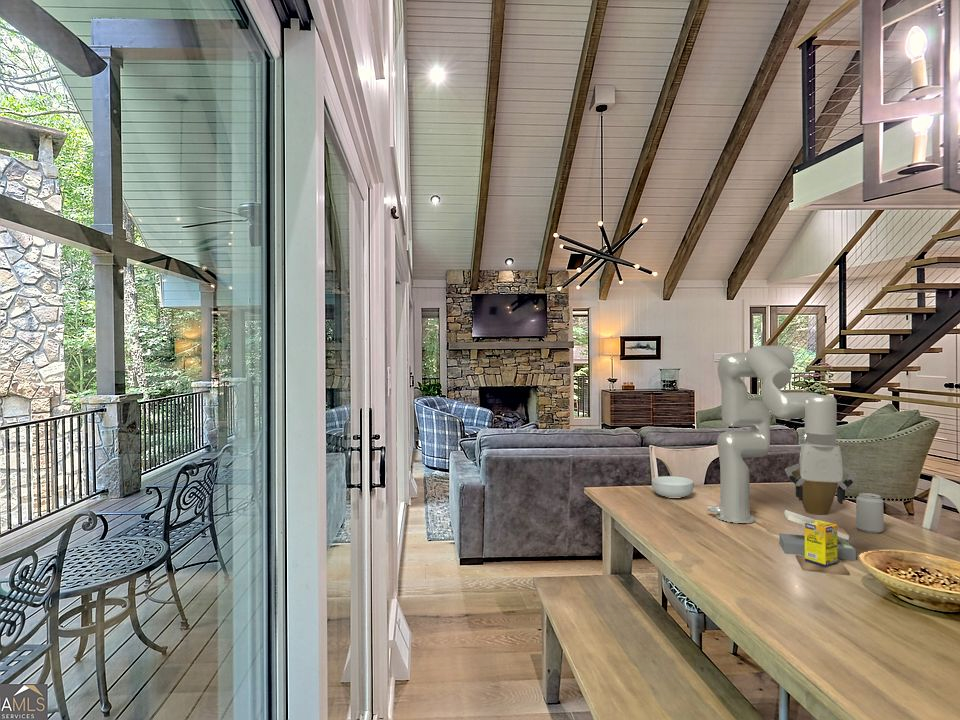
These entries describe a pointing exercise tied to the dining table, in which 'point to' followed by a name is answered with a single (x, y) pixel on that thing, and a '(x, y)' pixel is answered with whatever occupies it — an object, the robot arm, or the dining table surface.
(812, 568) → the pad
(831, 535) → the supplement box
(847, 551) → the grey pedestal base
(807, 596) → the dining table surface
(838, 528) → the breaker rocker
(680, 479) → the cereal bowl
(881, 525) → the can
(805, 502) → the plant pot
